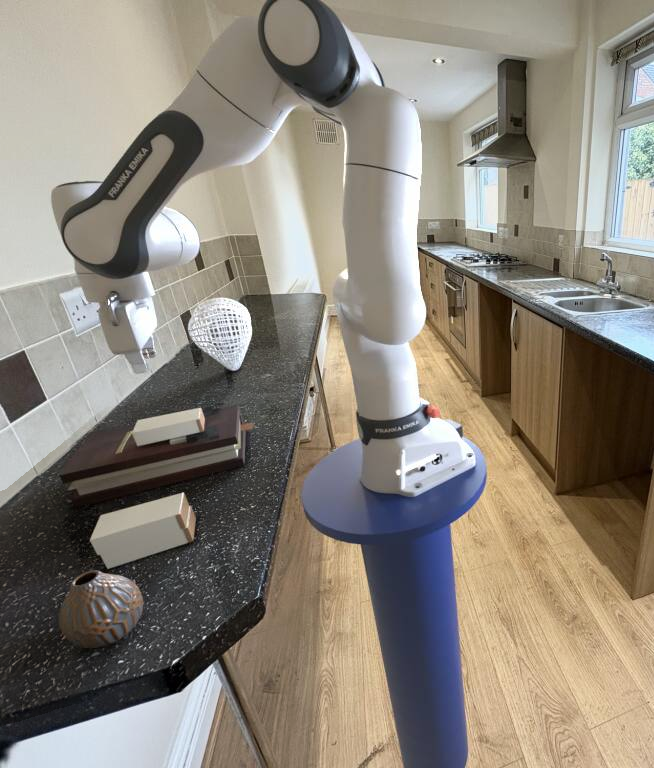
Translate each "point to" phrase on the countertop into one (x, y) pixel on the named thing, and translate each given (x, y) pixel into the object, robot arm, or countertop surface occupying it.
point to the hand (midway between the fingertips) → (146, 364)
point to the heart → (199, 335)
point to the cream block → (168, 426)
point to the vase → (100, 609)
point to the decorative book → (154, 457)
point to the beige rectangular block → (143, 530)
